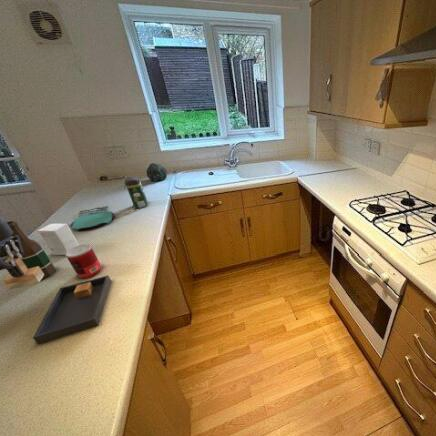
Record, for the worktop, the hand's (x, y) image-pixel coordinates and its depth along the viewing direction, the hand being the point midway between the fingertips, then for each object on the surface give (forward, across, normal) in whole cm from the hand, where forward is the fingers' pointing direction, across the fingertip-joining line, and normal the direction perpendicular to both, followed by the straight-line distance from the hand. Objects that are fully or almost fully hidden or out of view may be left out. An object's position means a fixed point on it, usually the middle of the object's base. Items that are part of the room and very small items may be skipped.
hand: (20, 272), depth 74 cm
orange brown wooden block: (+15, -1, +11) cm, 19 cm away
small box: (+15, -38, -5) cm, 41 cm away
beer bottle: (+15, -22, -8) cm, 28 cm away
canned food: (+15, -15, +9) cm, 24 cm away
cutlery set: (+15, -71, -1) cm, 73 cm away
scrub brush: (+4, 0, 0) cm, 4 cm away
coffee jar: (+15, -79, +22) cm, 84 cm away
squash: (+15, -130, +31) cm, 135 cm away
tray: (+15, +6, +11) cm, 20 cm away
